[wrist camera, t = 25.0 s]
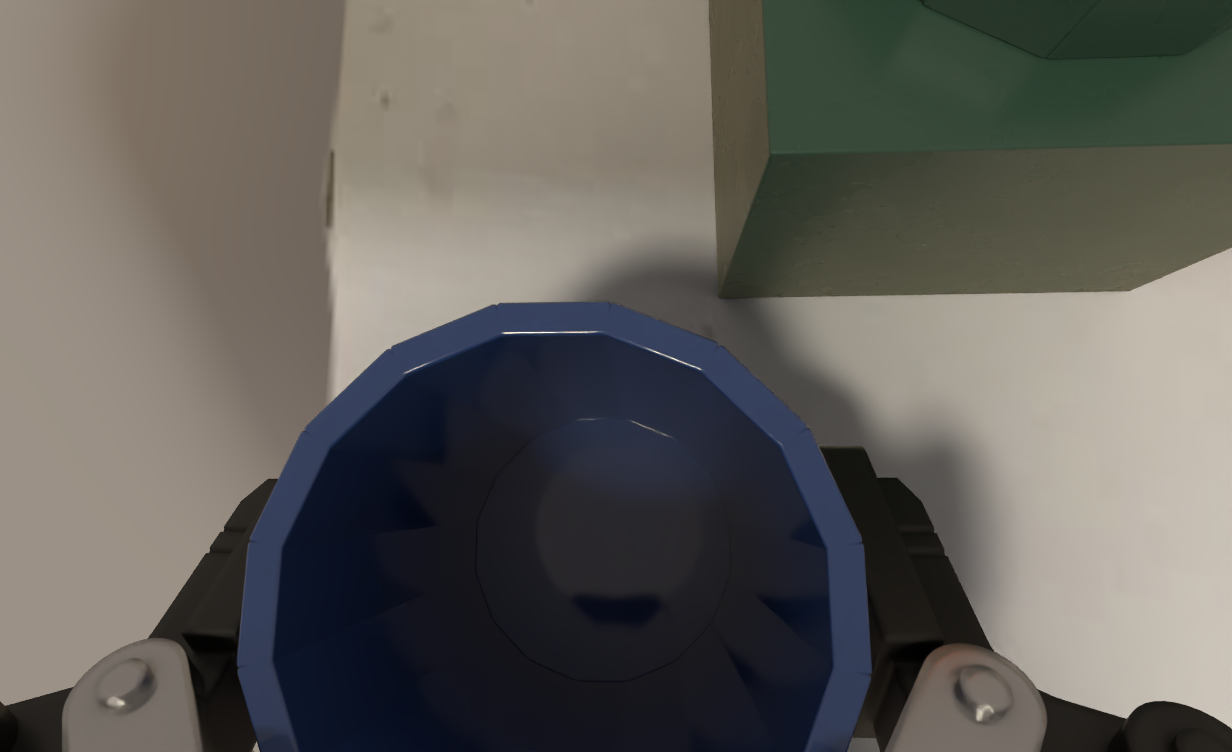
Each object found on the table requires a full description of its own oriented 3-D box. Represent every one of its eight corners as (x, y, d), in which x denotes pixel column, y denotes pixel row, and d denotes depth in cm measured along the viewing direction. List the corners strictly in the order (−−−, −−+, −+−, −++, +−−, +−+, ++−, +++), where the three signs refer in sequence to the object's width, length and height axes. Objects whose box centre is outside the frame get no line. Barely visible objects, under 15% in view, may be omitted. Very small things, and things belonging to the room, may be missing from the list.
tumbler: (460, 690, 15) (207, 955, 7) (471, 406, 17) (268, 304, 8) (749, 694, 15) (893, 978, 6) (739, 405, 16) (849, 297, 7)
